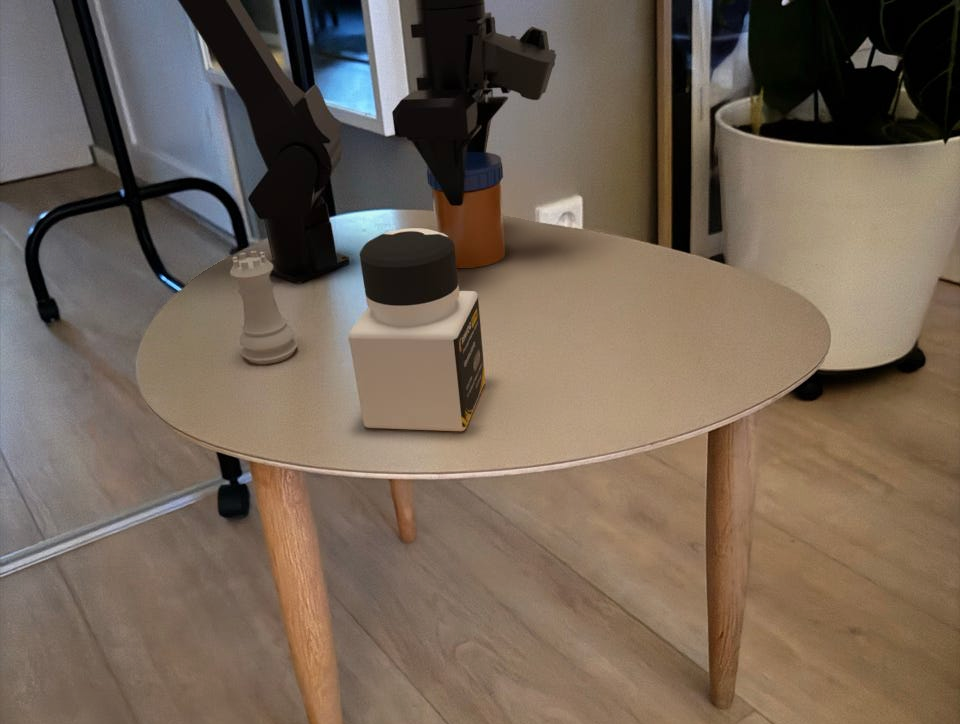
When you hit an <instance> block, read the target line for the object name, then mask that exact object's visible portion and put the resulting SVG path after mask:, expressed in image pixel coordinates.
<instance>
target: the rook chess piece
mask: <svg viewBox="0 0 960 724" xmlns="http://www.w3.org/2000/svg"><path fill="white" fill-rule="evenodd" d="M231 260H232V264H233V265H232V267H231V268H230V271H229V274H230V275H231V277H233V279H235V280H236V281H237V282H238V284H239V286H238V288H237V293H238V294H239V295H240V296H241V300H242V307H243V316H244V320H243V326H241V329H242V332H241V334H240V336H239V345H240V346H241V347H243V348H242V349H241V356H242V357H243V358H244V359H246V360H247V361H248V362H250V363H252V364H257V365H271V364H276V363H280V362H282V361H284V360H286V359H288V358H290V357H291V356H293V354H294V352H295V351H296V348H297V347H298V342H297V340H296V339H294V336H295V331H294V329H293V327H292V326H291V325H289V324H288V323H287V320H286V318H285V317H283V316H282V313H281V312H280V310H279V307H278V304H277V302H276V299H275V295H274V289H275V283H274V282H273V281H271V279H270V275H271V271H272V269H273V264H272V263H271V262H269V261H270V260H268V259H267V255H266V253H265V252H264V251H260V252H259V253H258V251H257V250H251V251H250V257H247V253H246V252H241V253H238V256H233V257H231Z"/></svg>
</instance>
